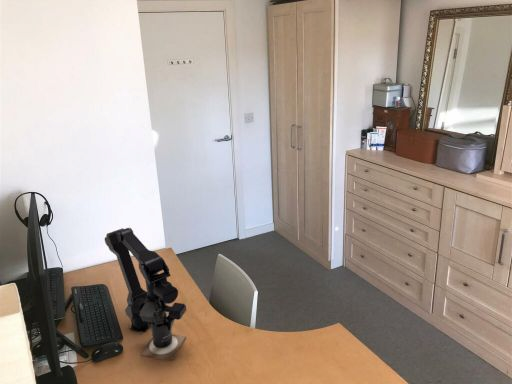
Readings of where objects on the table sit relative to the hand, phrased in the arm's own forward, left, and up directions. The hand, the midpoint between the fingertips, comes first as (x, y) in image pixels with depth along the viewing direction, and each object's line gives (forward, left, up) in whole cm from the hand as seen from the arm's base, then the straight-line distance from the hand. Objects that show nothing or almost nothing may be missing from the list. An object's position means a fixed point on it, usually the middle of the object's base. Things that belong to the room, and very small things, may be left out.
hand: (161, 328), depth 157 cm
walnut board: (0, 0, -8) cm, 8 cm away
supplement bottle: (0, 0, -6) cm, 6 cm away
